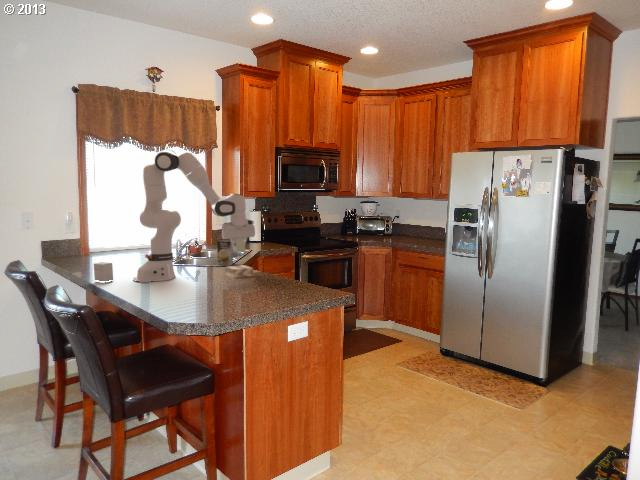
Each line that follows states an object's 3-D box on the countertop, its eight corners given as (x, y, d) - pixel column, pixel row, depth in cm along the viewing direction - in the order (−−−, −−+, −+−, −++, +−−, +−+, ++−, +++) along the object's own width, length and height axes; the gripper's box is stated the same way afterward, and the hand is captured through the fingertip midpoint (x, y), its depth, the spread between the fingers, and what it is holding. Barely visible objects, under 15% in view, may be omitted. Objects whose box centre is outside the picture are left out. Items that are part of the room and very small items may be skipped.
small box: (113, 282, 255) (112, 262, 254) (105, 283, 250) (104, 264, 249) (103, 280, 258) (102, 261, 257) (94, 282, 253) (93, 263, 252)
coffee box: (217, 265, 310) (216, 241, 308) (220, 263, 316) (219, 240, 315) (230, 265, 309) (230, 241, 308) (233, 264, 316) (233, 240, 314)
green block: (237, 251, 269) (236, 237, 269) (233, 250, 273) (232, 237, 272) (244, 251, 273) (244, 237, 272) (240, 250, 276) (240, 236, 276)
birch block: (233, 278, 266) (233, 269, 266) (225, 275, 276) (225, 266, 276) (253, 276, 273) (252, 267, 272) (244, 273, 283) (244, 265, 282)
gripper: (224, 223, 262) (225, 247, 264) (256, 221, 275) (256, 244, 276) (219, 222, 267) (220, 246, 269) (250, 220, 280) (251, 243, 281)
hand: (238, 245), depth 273 cm, fingers closed on green block, 5 cm apart
